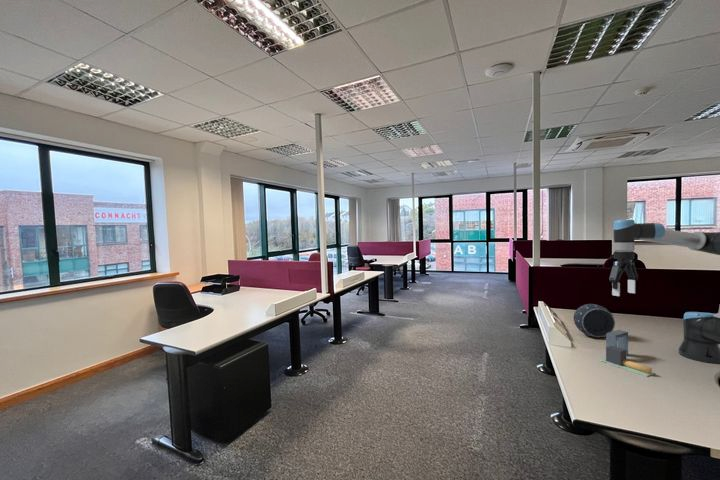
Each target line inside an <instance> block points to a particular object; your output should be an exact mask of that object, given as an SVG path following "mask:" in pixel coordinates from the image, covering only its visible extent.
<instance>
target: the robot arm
mask: <svg viewBox="0 0 720 480" xmlns="http://www.w3.org/2000/svg"><path fill="white" fill-rule="evenodd" d="M612 230H613V244H612V246H613V259H615V260H616V261H613V262H612V268H611V271H610V275H609V279H608V281H609V282H611V285H612V288H611V289H612V290H611V295H612V296H614V297H615V296H616V297H620V296H621V283H620V282H619V281H620V280H621V277H622V275H623V273H624V272H625V274H626V276H627V278H628V279H627V293H629V294H636V281H639V275H638V271H637V268H636V263H635V260H634V259H635V252H634V251H635V249H636V248H635V240H636V241H644V242H649V243H656V244H663V245H669V246H670V245H672V246H677V247H684V248H688V249H689V250H691V251H697V252H702V253H706V254H711V255H716V256H720V231H717V232H714V231H712V232H705V231H694V232H688V231H681V230H675V229H674V230H673V229H667V228H665V226H664V225H663V223H659V222H646V223H645V222H644V223H642V222H641V223H639V222H638V223H635V220H634V219H631V218H630V219H615V220H614V221H613V229H612ZM718 307H719V308H718V312H717V313H711V312H701V311H700V312H699V311H686V312H685V313H684V314H683V318H682V320H683V322H682V323H683V339H682V342H681V343H680V345H679V347H678V354H679V355H680V356H683V357H685V358H688V359H690V360H694V361H699V362H703V363H709V364H720V346H719V345H720V305H719V306H718Z"/></svg>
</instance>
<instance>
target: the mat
mask: <svg viewBox="0 0 720 480" xmlns="http://www.w3.org/2000/svg"><path fill="white" fill-rule="evenodd" d="M599 360H600V362H602V361H603V362H602V363H605V362H606V364H608V365H610V366H613V365H614V367H616V366H617V368H619V367H620V369H622V368H623V370H625V371H629V372H630V373H631V372H632V373H634V374H637V375H641V376H643V377H646V378H647V377H650V376H652V375H655V374H656V373H655V371H652V373H651V374H648V373H645V372H642V371H640V370H637V369H634V368H631V367H628V366H625V365H622V366H619V365H616V364H614V363H611V362H608V361H606V357H605V358H602V359H599Z"/></svg>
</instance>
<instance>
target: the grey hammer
mask: <svg viewBox="0 0 720 480" xmlns="http://www.w3.org/2000/svg"><path fill="white" fill-rule="evenodd" d="M605 358H606V361H608V362H611V363H614V364H616V365H619V366H622V365H625V366H628V367H631V368H634V369H637V370H640V371H642V372H645V373H648V374H651V373H652V372H653V369H652V367H649V366H646V365H643V364H640V363H637V362H635V361H630V360H628V359H627V356H626V350H625V349H622V348H619V347H618V346H617V347H615V346H608V347H605Z"/></svg>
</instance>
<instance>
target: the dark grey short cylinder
mask: <svg viewBox="0 0 720 480" xmlns="http://www.w3.org/2000/svg"><path fill="white" fill-rule="evenodd" d="M615 321H616V320H615V318H614V314H613V313H612V312H610V310H609V309H607V308H606V307H604V306H602V305H600V304H594V303H586V304H583V305H581V306H579V307H577V309H576V310H575V311H574V314H573V323H574V325H575V327H576V328H577V329H578V330H579V332H581V333H583V334H584V335H586V336H589V337H592V338H595V339H597V338H602V337H606V333H608V332H612V331H614V328H615V325H616V322H615Z"/></svg>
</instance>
